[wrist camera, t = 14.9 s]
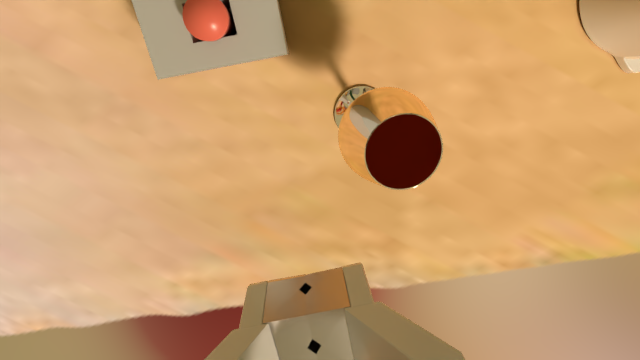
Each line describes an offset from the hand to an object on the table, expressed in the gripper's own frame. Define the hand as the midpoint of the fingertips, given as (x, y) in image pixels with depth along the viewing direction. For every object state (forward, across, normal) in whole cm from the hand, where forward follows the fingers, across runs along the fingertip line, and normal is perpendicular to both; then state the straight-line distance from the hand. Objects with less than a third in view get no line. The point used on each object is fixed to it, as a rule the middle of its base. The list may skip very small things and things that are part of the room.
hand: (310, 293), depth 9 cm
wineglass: (+34, +7, -2) cm, 35 cm away
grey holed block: (+34, -6, +10) cm, 36 cm away
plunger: (+33, -6, +10) cm, 35 cm away
